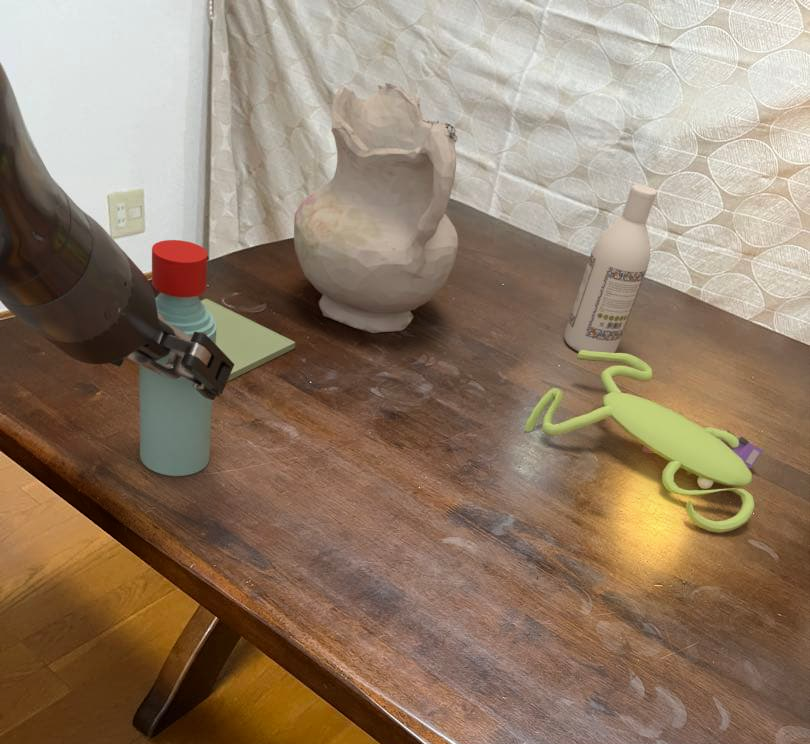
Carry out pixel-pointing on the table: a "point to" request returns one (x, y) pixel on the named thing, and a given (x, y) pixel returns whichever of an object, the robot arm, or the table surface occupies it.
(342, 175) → the ceramic pitcher
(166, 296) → the bottle
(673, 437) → the figurine
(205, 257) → the cap
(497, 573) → the table surface
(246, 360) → the mat
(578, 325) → the bath foam
